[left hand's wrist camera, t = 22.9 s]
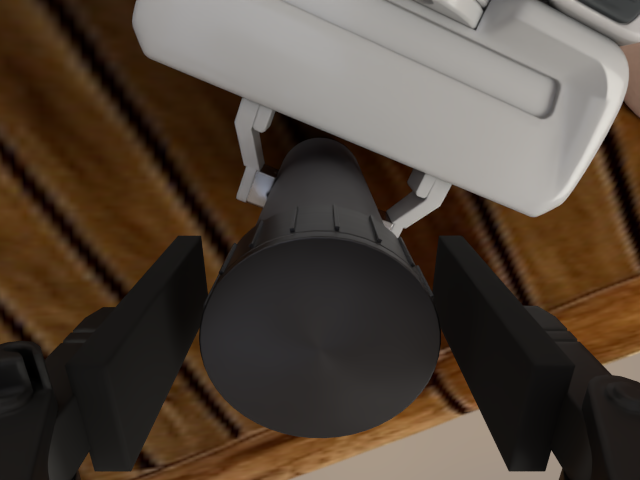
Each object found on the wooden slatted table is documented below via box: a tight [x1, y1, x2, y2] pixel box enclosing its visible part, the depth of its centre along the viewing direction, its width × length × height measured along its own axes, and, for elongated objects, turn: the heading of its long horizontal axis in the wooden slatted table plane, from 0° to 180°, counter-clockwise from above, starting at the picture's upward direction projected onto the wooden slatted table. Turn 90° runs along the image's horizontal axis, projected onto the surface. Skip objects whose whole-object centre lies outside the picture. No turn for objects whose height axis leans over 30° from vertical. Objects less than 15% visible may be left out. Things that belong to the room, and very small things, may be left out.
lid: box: [199, 204, 441, 438], centre depth 11 cm, size 6×6×2 cm
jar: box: [256, 138, 384, 225], centre depth 19 cm, size 5×5×17 cm
